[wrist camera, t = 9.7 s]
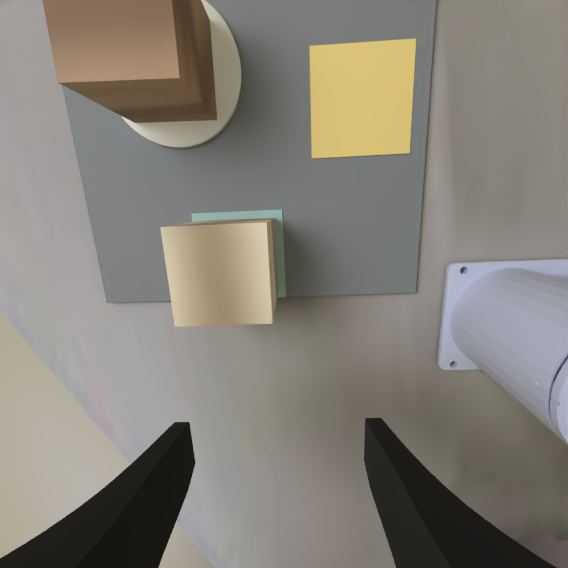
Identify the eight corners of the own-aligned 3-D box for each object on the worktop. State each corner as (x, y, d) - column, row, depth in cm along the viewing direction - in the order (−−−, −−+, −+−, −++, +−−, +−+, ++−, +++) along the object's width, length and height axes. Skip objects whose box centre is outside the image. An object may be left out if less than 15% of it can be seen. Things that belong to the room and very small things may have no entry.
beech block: (274, 217, 19) (266, 222, 14) (278, 290, 21) (272, 323, 15) (199, 220, 20) (160, 227, 14) (207, 293, 21) (174, 326, 15)
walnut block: (217, 120, 18) (179, 77, 12) (134, 122, 18) (58, 82, 12) (210, 19, 16) (163, -82, 11) (121, 24, 17) (28, -74, 11)
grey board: (434, -22, 16) (439, -29, 16) (413, 291, 21) (416, 293, 20) (50, 8, 17) (44, 2, 17) (110, 301, 22) (106, 303, 21)
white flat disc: (236, -12, 16) (234, -20, 16) (246, 144, 18) (245, 142, 18) (96, -1, 17) (89, -8, 16) (122, 151, 19) (116, 150, 18)
